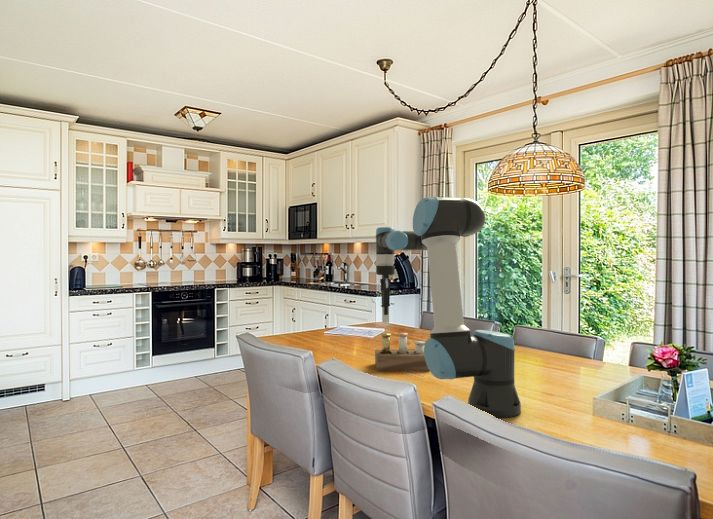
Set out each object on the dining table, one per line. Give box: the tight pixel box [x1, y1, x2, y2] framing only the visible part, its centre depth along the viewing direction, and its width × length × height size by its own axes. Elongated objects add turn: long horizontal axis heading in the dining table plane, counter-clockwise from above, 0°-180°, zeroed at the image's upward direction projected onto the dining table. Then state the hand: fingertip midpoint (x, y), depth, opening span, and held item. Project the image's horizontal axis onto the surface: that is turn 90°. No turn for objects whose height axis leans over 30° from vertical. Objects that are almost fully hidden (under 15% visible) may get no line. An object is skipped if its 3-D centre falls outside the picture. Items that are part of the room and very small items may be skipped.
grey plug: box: [414, 340, 426, 353], centre depth 187 cm, size 4×4×9 cm
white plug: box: [397, 332, 409, 354], centre depth 187 cm, size 4×4×9 cm
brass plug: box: [380, 332, 392, 354], centre depth 187 cm, size 4×4×9 cm
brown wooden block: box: [374, 348, 430, 372], centre depth 187 cm, size 12×22×6 cm, turn 92°
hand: (385, 322), depth 187 cm, fingers closed
